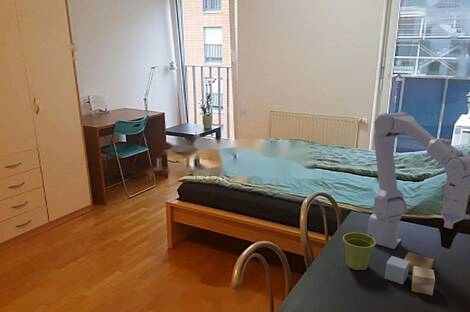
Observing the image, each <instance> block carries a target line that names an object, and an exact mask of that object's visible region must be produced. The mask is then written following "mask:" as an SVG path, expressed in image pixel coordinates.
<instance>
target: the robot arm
mask: <svg viewBox="0 0 470 312" xmlns="http://www.w3.org/2000/svg"><path fill="white" fill-rule="evenodd" d="M373 122H374V135H373V142H374V152H375V158H376V161H375V162H376V169H377V177H378V179H377V180H378V186H379V190H378V192H377V193H376V194H375V196H374V197H373V198H374V199H373V200H374V203H373V206H372V210H373V213H371V215H370V216H369V219H368V223H367V233H366V235H369V236H371V237H372V238H374V239H375V241H376V244H375V245H379V246H383V247H385V248H389V249H392V250H395V249H396V248H397V246H398V245H399V243H400V242H401V241H402V240H401V238H398V237H399V233H400V232H399V231H400V224H401V219H402V215H405V214H406V212H407V209H408V204H407V202H406V200H405V198H404V193H403V192H402V191H401V190H399V189H398V183H397V174H396V166H395V155H394V148H393V147H394V146H393V142H394V141H395V140H396V138H397V137H398V136H399V135H401V134H407V135H408V136H409V137H411V138H412V139H413V140H415V141H417V142H418V143H420V144H421V146H424V147H426V153H427V154H428V155H429V156H430V157H431V158H432V159H434V160H435V161H436V162H437V163H439V164H440V165H441V166H442V167H443V168H444V172H445V175H446V184H445V190H444V195H443V201H442V207H441V209H440V215H441V217H442V219H443V221H444V222H443V221H437V224H436V225H437V228H438V232H439V235H440V246H441V248H445V249H448V250H450V249H451V247H452V246H453V242H454V240H455V238H456V236H457V235H458V234H459V233H460V231H461V229H462V227H460V226H461V224H462V223H463V222H464V220H470V214H467V212H466V211H467V206H468V201H469V196H470V154H464V153H463V151H462V150H461V149H460V150H459V149H457V148H455V147H454V146H453V145H452V144H450V140H448V139H447V138H445V139H444V138H441V137H440V138H435V137H434V136H433V135H432V133H429V131H427V130H426V129H425V128H424V127H423V126H422V125H421V124H419V122H417V121H416V120H415V117H414V116H412V115H410V114H409V113H408V112H407V111H400V112H390V113H386V112H385V113H380V114H378V116H377V118H376V119H375V120H374V121H373Z"/></svg>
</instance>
